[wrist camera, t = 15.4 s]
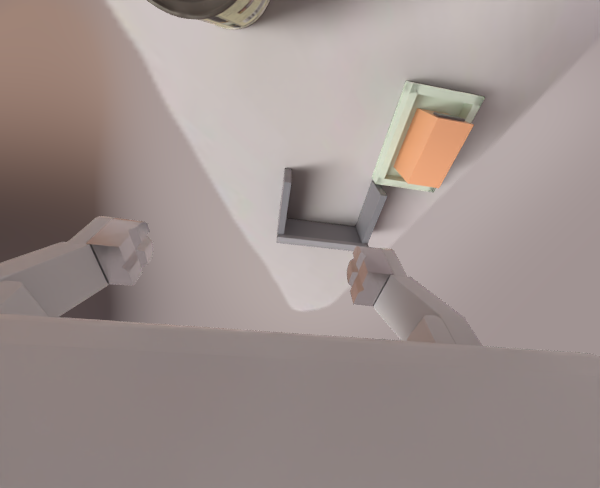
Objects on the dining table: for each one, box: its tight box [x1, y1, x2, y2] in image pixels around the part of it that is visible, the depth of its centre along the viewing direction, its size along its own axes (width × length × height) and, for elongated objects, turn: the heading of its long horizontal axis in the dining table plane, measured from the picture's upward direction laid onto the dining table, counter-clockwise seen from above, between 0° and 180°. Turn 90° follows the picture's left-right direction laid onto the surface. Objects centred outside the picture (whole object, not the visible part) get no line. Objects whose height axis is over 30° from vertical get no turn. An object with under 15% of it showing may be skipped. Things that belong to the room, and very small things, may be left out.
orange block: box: [393, 108, 474, 188], centre depth 33 cm, size 8×4×6 cm, turn 171°
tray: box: [372, 81, 485, 192], centre depth 35 cm, size 13×10×2 cm
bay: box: [277, 168, 387, 251], centre depth 39 cm, size 10×15×6 cm
